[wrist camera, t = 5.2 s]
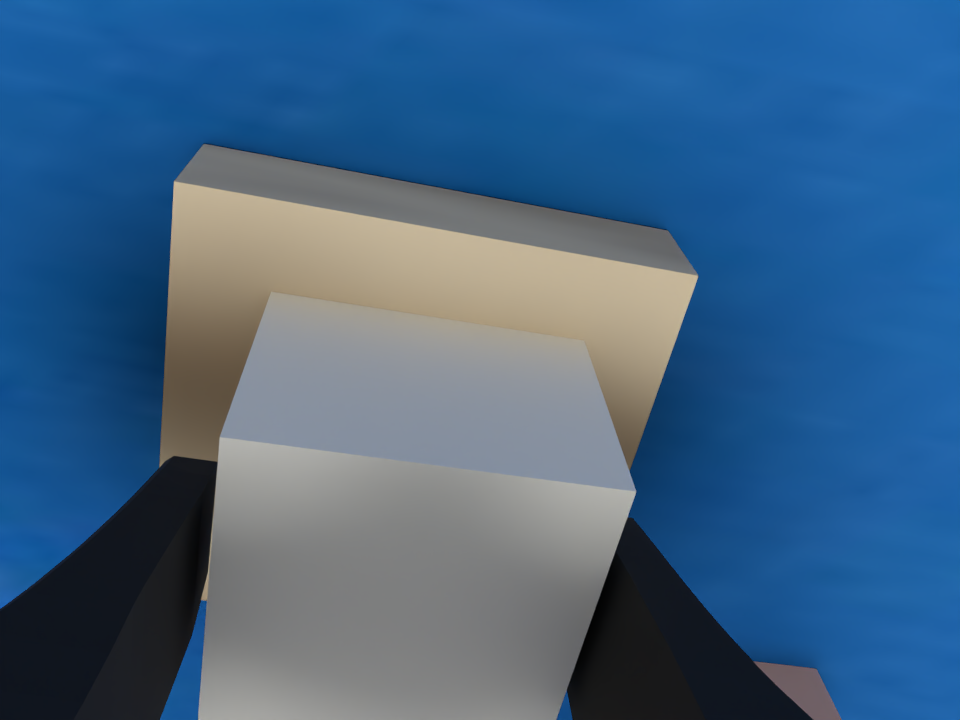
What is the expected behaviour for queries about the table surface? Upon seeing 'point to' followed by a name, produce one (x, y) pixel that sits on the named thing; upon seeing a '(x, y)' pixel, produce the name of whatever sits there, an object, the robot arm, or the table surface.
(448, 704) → the cream cube
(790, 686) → the terracotta cube
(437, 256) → the oak slab
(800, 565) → the table surface
